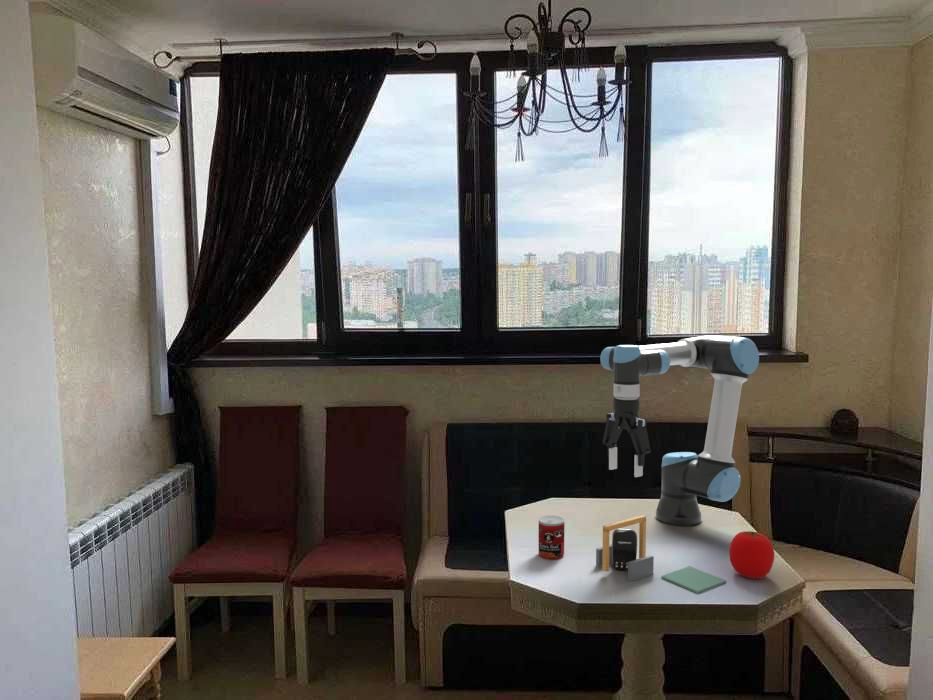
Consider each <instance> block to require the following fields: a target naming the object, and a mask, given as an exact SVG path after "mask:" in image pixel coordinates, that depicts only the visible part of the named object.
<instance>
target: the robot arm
mask: <svg viewBox="0 0 933 700" xmlns="http://www.w3.org/2000/svg"><path fill="white" fill-rule="evenodd" d="M759 362H760V355H759V349H758V347H757V346H756V343H755V342H754V341H753V340H752V339H751V338H748V337H744V336H743V337H742V336H734V335H733V336H730V335H714V334H712V335H700V336H695V337H688V338H681V339H679V340H677V342H669V343H655V344H646V345H637V344H635V345H634V344H619V345H615V346H607V347H605V348H603V350H602V351H601V354H600V365H601V366H602V368H604V369H605V370H608V371H611V372H613V393H612V394H613V396H614V398H613V400H612V401H613V403H612V404H613V405H612V409H613V411H614V412H609V413H606V423H605V428H604V433H603V437H602V445H605V446H606V447H607V458H608V470H611V471H612V470H617V469H618V447H617V446H618V445H617V442H618V440H619V438H620V436H621V433H622V432H623V430H624V431H627V434H629V435H630V438H631V441H632V443H633V448H634V450H635V452H636V453H635V454H634V461H633V462H634V466H633V468H634V473H633V475H634V478H638V477H639V478H640V477H642V476H643V475H644V472H643V471H644V470H643V469H644V466H645V458H646V456H645V455H647V454H651V452H652V451H651V446H650V440H649V435H648V428H647V423H648V420H647V419H646V418H639V414H638V413H639V411H640V398H639V397H641V396H640V394H641V392H640V387H641V385H640V383H641V381H640V378H641V377H646V376H658V375H661V374H665V373H666V372H668V370H669V369H670V366H678V365H679V366H680V367H684V368H688V367H693V368H700V369H705V370H706V369H707V370H711V371H710V375H711V377H712V378H713V379H714V384H713V390H712V397H711V403H710V408H709V416H708V422H707V428H706V429H707V430H706V434H705V440H704V441H705V442H704V447H703V451H702V452H701V453H699V454H697V453H696V452H691V451H680V452H679V451H677V452H669V453H666V454H664V455H663V456H662V461H661V493H660V498H659V500H658V504H657V508H656V510H655V518H656V519H657V520H658V521H660V522H662V523H665V524H669V525H673V526H674V525H675V526H695V525H698V524H700V523H701V522H702V513H701V510H700V506H699V503H698V500H697V497H702V498H705V499H709V500H711V501H715V502H722V503H723V502H728V501H730V500H731V499H733V497H734V496H735V495H736V494H737V492H738V491H739V488H740V486H741V481H742V480H741V479H742V478H741V475H740V474H741V473H740V472H739V470H738V469H737V468H735V465H736V460H735V459H734V458H733V456H732V453H733V445H734V440H735V435H736V434H735V432H736V426H737V420H738V413H739V407H740V401H741V395H742V387H743V384H744V383H746V382H747V381H748V380H749V375H751V374H753V373H754V372H756V371H757V369H758V367H759Z"/></svg>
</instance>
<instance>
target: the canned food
mask: <svg viewBox="0 0 933 700" xmlns="http://www.w3.org/2000/svg"><path fill="white" fill-rule="evenodd" d="M538 554H539V557H540V558H542V559H544V560H549V561H554V560H559V559H562V558H563V557H564V555H565V519H564V517H562V516H558V515H545V516H541V517H539V519H538Z"/></svg>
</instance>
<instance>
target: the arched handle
mask: <svg viewBox="0 0 933 700" xmlns="http://www.w3.org/2000/svg"><path fill="white" fill-rule="evenodd" d="M637 524H639V525H638V526H639V528H638V530H639V532H638V533H639V534H638V540H639V541H638V545H639V546H638V559H639V558H642V557H646V556H647V555H646V553H647V552H646V549H647V546H646V545H647V544H646V543H647V540H646V539H647V516H646V515H643V514H641V515H638V516H637V515H636V516H633V517H629V518H627V519H622V520H619V521H615V522H612V523H607V524H605V525H602V547H603V558H602V566H601V567H602V568H601V569H602V570H601V571H603V572H607V573H608V572H609V571H610V563H609V545H610V535H611V534H610V532H611V531H614V530H615V529H624V528H625V527H629V526H633V525H637Z"/></svg>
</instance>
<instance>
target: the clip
mask: <svg viewBox="0 0 933 700" xmlns="http://www.w3.org/2000/svg"><path fill="white" fill-rule="evenodd" d="M595 552H596V553H595V556H596V557H595V565H596V566H597V567H599V566H600V567H602V558H603V546H600V547H597V548H596V550H595ZM654 559H655V557H654V555H652V554H649V555H646V557H642V558H639V557H638V558H636V560H633V561H630V562H628V571H627V581H629V580H630V582H633V581H636V580H638V579H641V578H645V577H647V576H650V575H653V574H654ZM612 562H613V554H612V543H609V564H612Z"/></svg>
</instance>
